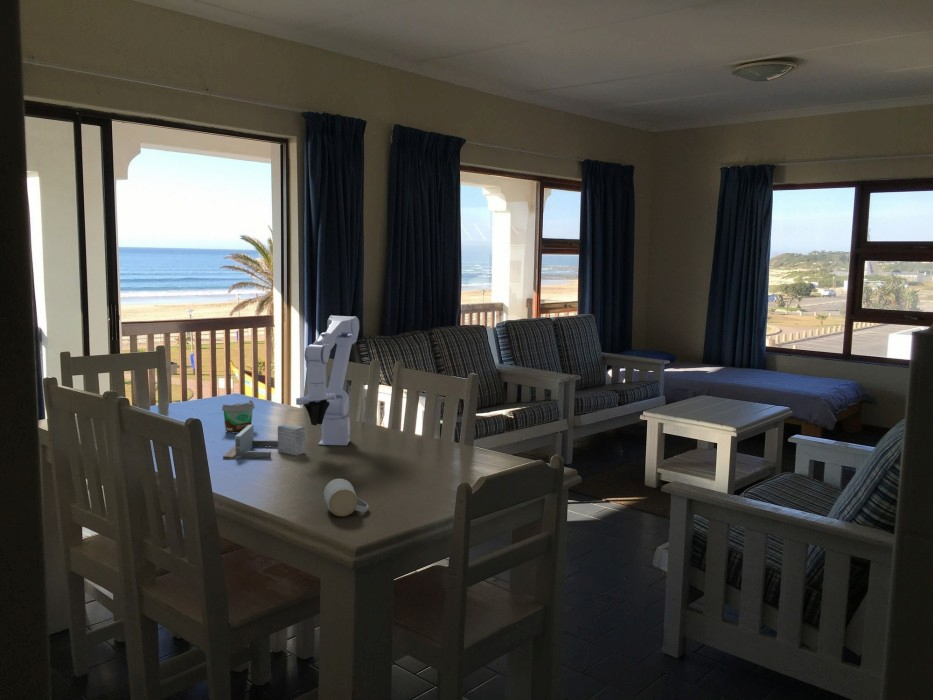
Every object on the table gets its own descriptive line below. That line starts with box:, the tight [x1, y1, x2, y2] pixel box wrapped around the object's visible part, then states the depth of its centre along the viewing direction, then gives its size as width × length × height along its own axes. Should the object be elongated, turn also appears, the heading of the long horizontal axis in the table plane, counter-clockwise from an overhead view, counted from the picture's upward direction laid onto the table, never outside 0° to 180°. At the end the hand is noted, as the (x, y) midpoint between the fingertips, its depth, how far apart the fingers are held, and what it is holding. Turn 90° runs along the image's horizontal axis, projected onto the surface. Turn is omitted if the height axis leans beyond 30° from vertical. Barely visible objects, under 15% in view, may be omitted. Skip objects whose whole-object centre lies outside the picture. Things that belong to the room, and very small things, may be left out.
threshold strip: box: [222, 445, 236, 460], centre depth 239 cm, size 3×18×1 cm, turn 2°
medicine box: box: [277, 423, 306, 456], centre depth 240 cm, size 8×4×9 cm, turn 58°
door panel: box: [234, 424, 255, 459], centre depth 239 cm, size 2×17×7 cm, turn 2°
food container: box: [221, 399, 255, 433], centre depth 266 cm, size 12×6×10 cm, turn 143°
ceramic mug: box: [323, 478, 370, 518], centre depth 186 cm, size 11×8×8 cm
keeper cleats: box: [240, 439, 278, 459], centre depth 240 cm, size 9×15×2 cm, turn 2°
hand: (316, 424), depth 239 cm, fingers closed
